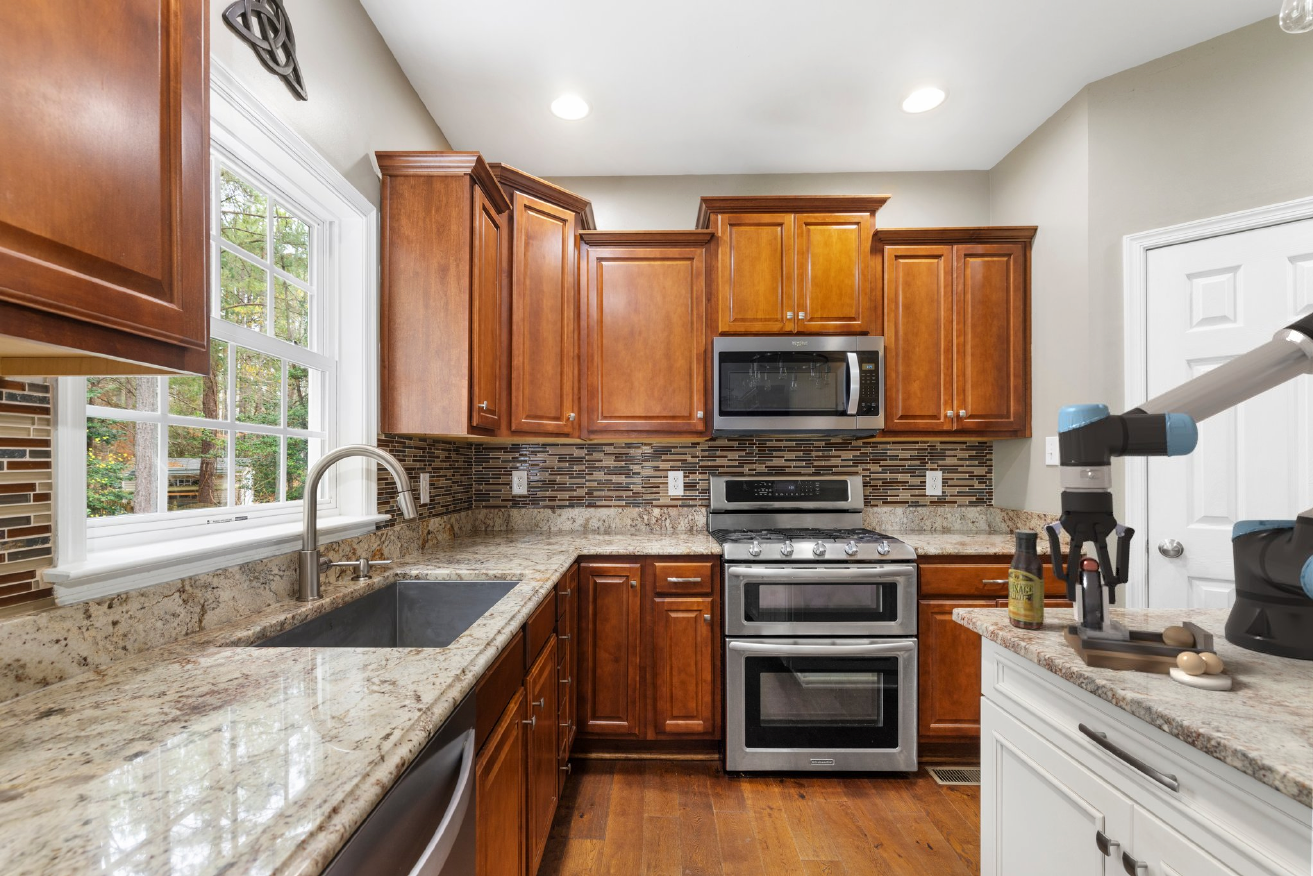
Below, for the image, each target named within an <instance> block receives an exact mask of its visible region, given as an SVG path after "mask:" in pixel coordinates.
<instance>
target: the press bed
mask: <svg viewBox="0 0 1313 876" xmlns="http://www.w3.org/2000/svg"><path fill="white" fill-rule="evenodd" d="M1181 622H1182V623H1181V624H1182V627H1183V628H1185V629H1187V630H1188V631H1189V632H1190V633H1191V634H1192V635H1193V638H1194V644H1193V646H1192V647H1191V648H1186V647H1175V646H1168V645H1167V644H1166V643H1165V641H1164V640H1163V632H1161V631H1160V632H1159V631H1150V630H1149V631H1148V630H1135V629H1129V642H1119V641H1108V640H1097V639H1086V638H1080V636H1079V635H1078V634H1077V624H1067V628H1063V639H1064V640H1065V642H1066V643H1067V644H1068V645H1069V646H1070V648H1071V649H1072V650H1073V649H1074V650H1073V652H1075V654H1076V655H1077V656H1078V657H1079V658H1080V659H1081V660H1082V661H1083V663H1084V664H1085V665H1086V666H1087V667H1092V668H1100V667H1101V669H1102V668H1103V669H1111V670H1119V669H1122V670H1121V671H1129V670H1135V671H1134V672H1138V671H1140V673H1148V672H1149V674H1157V675H1158V674H1159V675H1167V674H1170V668H1171V667H1172V668H1179V667H1178V665H1177V662H1176V659H1177V656H1178V655H1179V654H1180V653H1183V652H1193V653H1196V654H1200V653H1203V652H1209V653H1213V654H1215V655H1217V656H1218V652H1217V651H1216V650H1214V649H1215V647H1214V634H1213V633H1211V632H1209V631H1208V630H1206V629H1204V628H1202V627H1200V626H1199V625H1197V624H1195V623H1194V622H1192V621H1184V620H1182V621H1181ZM1227 669H1228V668H1227V666H1224V667H1223V670H1222V671H1221V672H1220V673H1221V674H1224V675H1226V676H1228V670H1227ZM1150 672H1151V673H1150Z"/></svg>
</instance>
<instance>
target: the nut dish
mask: <svg viewBox="0 0 1313 876" xmlns="http://www.w3.org/2000/svg"><path fill="white" fill-rule="evenodd" d="M1176 662H1177V665H1178V667H1179V668H1172V667H1171V668H1170V675H1169V678H1170V679H1171V680H1172V679H1173V680H1172V681H1174V682H1176V681H1177V683H1178V684H1181V685H1184V686H1187V685H1188V687H1191V686H1194V687H1193V688H1195V687H1196V689H1200V688H1202V689H1201V690H1205V689H1206V691H1214V690H1218V691H1217V692H1219V690H1227V691H1230V690H1232V689H1231V688H1233V687H1232V683H1233V682H1232V678H1231V677H1229V676H1228V675H1227V676H1226V675H1224V674H1221V673H1220V672H1221V671H1222V670H1223V667H1225V666H1224V662H1223V660H1222V659H1221V658H1220V657H1219V656H1218V654H1217V655H1215V654H1213V653H1209V652H1203V653H1200V654H1196V653H1193V652H1183V653H1180V654H1179V655H1178V656H1177V659H1176Z"/></svg>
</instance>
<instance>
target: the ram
mask: <svg viewBox="0 0 1313 876" xmlns="http://www.w3.org/2000/svg"><path fill="white" fill-rule="evenodd" d="M1078 583H1079V584H1080V585H1082V610H1083V622H1078V621H1077V620H1076V625H1077V634H1078V635H1079V636H1080V638H1086V639H1097V640H1108V641H1119V642H1129V630H1130V629H1129V628H1127V627H1126V626H1125V625H1123V623H1121V622H1120V621H1118V620H1117V619H1110V624H1104V623H1103V616H1102V593H1101V584H1102V574H1101V570H1100V565H1099V561H1098V560H1097V559H1096V558H1093V557H1091V556H1086V557H1083V558H1080V561H1079V568H1078Z"/></svg>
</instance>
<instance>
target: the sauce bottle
mask: <svg viewBox="0 0 1313 876" xmlns="http://www.w3.org/2000/svg"><path fill="white" fill-rule="evenodd" d="M1014 537H1015V551H1014V555H1013V557H1012V560H1011V562H1010V566H1009V568H1008V607H1007V608H1008V609H1007V610H1008V619H1009V624H1010V625H1012V626H1013V627H1016V628H1020V629H1024V630H1040V629H1042V628H1043V626H1044V621H1045V619H1044V618H1045V610H1044V609H1045V584H1044V583H1045V578H1044V565H1043V562H1042V560H1041V559H1040V557H1039V555H1038V547H1037V544H1038V543H1037V541H1038V538H1039V534H1038V532H1037V531H1036V530H1030V529H1029V530H1028V529H1016V530H1014Z"/></svg>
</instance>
